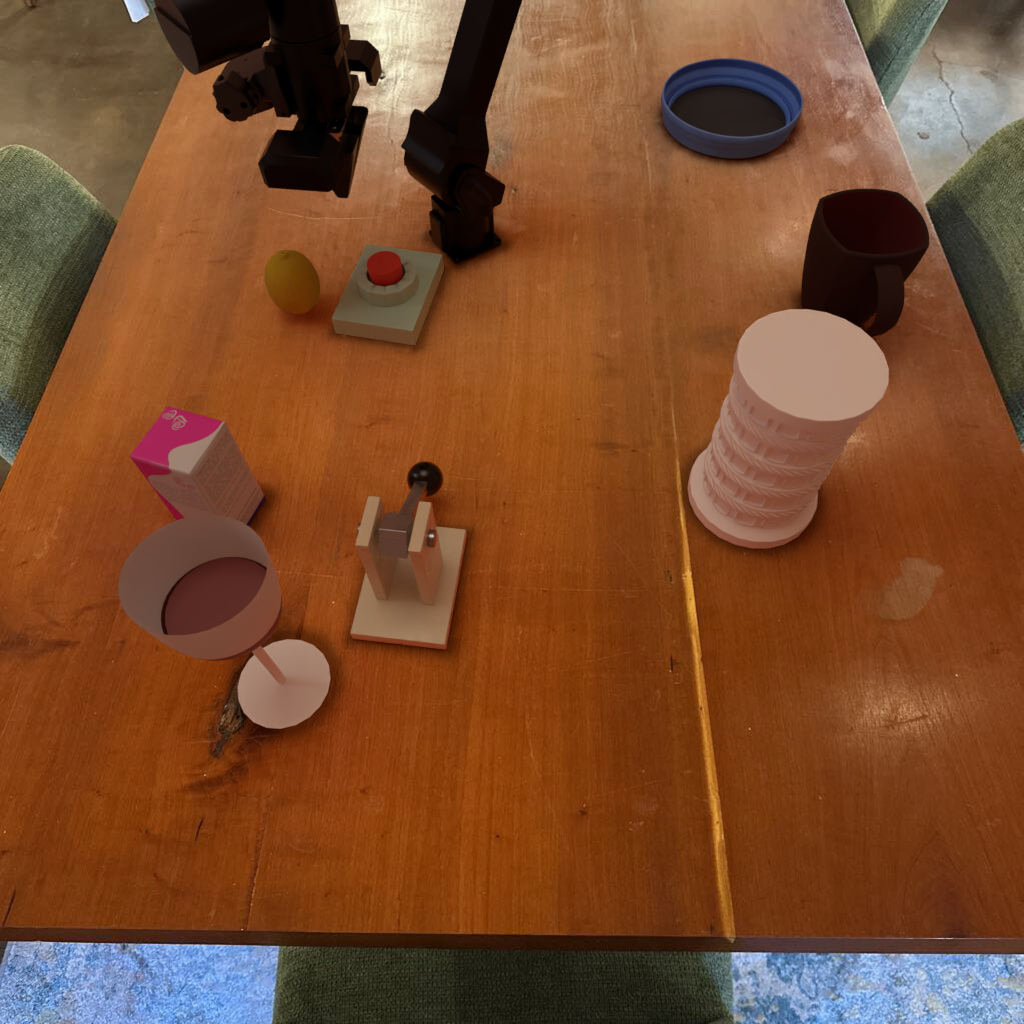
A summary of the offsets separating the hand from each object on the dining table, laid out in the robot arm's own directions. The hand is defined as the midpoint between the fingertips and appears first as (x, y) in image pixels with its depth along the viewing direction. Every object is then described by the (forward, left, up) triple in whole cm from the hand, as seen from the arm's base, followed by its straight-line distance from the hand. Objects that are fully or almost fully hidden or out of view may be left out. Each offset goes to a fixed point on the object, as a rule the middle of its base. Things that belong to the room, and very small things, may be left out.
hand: (343, 195), depth 74 cm
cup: (-40, +32, -13) cm, 53 cm away
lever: (+11, +31, -8) cm, 34 cm away
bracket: (+13, +34, -13) cm, 39 cm away
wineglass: (+26, +36, -13) cm, 46 cm away
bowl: (-55, -3, -13) cm, 57 cm away
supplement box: (+24, +18, -13) cm, 33 cm away
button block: (-2, +2, -13) cm, 13 cm away
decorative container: (-18, +43, -13) cm, 48 cm away
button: (-2, +2, -9) cm, 10 cm away
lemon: (+7, -2, -13) cm, 15 cm away
